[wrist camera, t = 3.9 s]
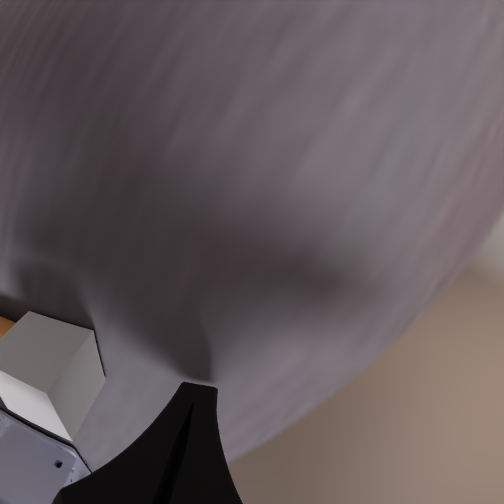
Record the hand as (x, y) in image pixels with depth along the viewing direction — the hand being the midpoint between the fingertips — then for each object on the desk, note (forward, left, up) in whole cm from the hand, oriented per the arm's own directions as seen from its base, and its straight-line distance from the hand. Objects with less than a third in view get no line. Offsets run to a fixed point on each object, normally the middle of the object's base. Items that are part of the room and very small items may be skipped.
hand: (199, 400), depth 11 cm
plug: (+15, 0, -1) cm, 15 cm away
